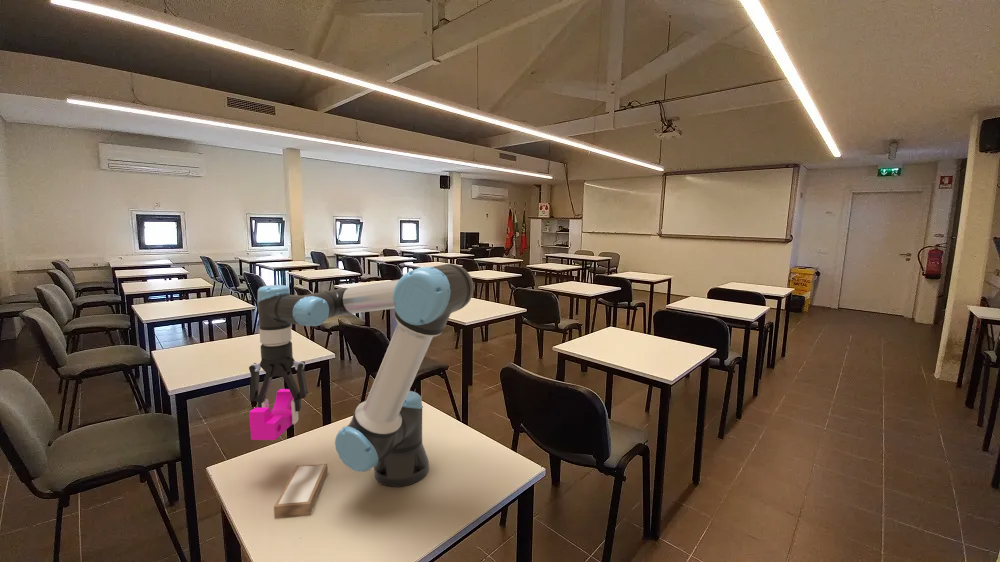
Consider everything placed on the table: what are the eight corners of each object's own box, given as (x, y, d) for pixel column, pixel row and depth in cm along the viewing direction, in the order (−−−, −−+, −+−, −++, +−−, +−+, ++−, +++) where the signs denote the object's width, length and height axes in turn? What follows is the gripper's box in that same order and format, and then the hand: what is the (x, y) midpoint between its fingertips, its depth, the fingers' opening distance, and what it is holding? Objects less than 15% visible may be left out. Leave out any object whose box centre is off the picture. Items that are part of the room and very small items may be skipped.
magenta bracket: (275, 439, 105) (273, 412, 104) (251, 439, 105) (249, 412, 104) (303, 413, 120) (301, 389, 119) (282, 413, 120) (280, 389, 119)
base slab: (327, 473, 115) (327, 463, 115) (310, 515, 99) (309, 503, 98) (297, 475, 114) (296, 465, 114) (274, 518, 97) (273, 506, 97)
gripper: (318, 337, 116) (322, 414, 119) (242, 339, 113) (248, 418, 116) (311, 345, 109) (314, 426, 112) (229, 347, 106) (235, 431, 108)
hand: (281, 422), depth 114 cm, fingers closed on magenta bracket, 7 cm apart
